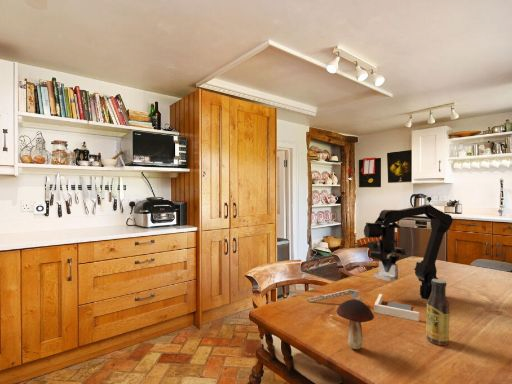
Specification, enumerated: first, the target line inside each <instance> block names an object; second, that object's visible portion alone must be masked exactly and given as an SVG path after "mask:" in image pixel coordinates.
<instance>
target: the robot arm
mask: <svg viewBox="0 0 512 384" xmlns="http://www.w3.org/2000/svg"><path fill="white" fill-rule="evenodd" d="M421 215H422V216H423V215H425V216H426V218H427V219H429V220H430V228H431V232H430V236H429V239H428V242H427V245H426V249H425V252H424V255H423V259H422V260H421V261H420V262H419V261H416V263H415V267H414V269H413V270H414V275H415V276H416V277H417V279H418V281H419V282H421V285H419V295H420V298H421V299H426V300H428V299H429V297H430V295H431V292H432V284H431V281H432V279H439V278H438V277H437V273H438V272H437V266H436V262H437V259H438V255H439V252H440V248H441V245H442V242H443V239H444V235H445V234H446V232H448V231H449V230H450V229H451V226H452V224H453V221H454V219H453V217H452V215H450V214H449V213H445V212H443V210H440V209H437V208H436V207H435V206H433V205H431V204H422V205H417V206H411V207H407V208H406V207H405V208H402V209H384V210H381V211H380V213H379V216H378V217H377V219H376V220H375V221H374V222H366V223H365V226H364V229H363V235H364V237H365V238H367V239H368V238H371V239H372V238H373V239H375V238H376V239H378V238H380V239H379V240H378V242H374V241H369V242H368V244H367V246H368V247H367V248H368V249H369V250H371V251H370V252H369V253H370V254H369V255H370V258H373V259H378V260H379V261H382V264H383V266H384V269H385V272H388V271H389V268H390V264H391V263H393V264H396V263H397V262H398V259H400V258H401V256H406V254H407V253H406V252H407V251H406V250H405V248H402V247H397V246H396V243H397V244H398V240H397V239H396V229H400V228H401V226H400V225H399V224H398V223H397V222H399V221H401V220H403V219H406V218H411V217H417V216H421ZM397 254H400V255H401V256H399V255H397Z"/></svg>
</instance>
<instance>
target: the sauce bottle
mask: <svg viewBox="0 0 512 384" xmlns="http://www.w3.org/2000/svg"><path fill="white" fill-rule="evenodd" d="M431 284H432V292H431V295H430V297H429V299H427V303H426V320H425V321H426V322H425V328H426V329H425V334H426V336H425V337H426V339H427V341H429V342H430V343H432V344H434V345H436V346H446V345H448V344H449V340H450V302H449V300H448V298H447V296H446V295H447V293H446V287H447V281H446V280H444V279H440V278H438V279H432V281H431Z"/></svg>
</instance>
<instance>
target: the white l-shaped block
mask: <svg viewBox="0 0 512 384" xmlns="http://www.w3.org/2000/svg"><path fill="white" fill-rule="evenodd" d="M382 303H383V294H382V293H379V294H378V296H377V298H376V299H375V302H374V305H373V306H374V307H373V312H374V313H376V314H381V315H385V316H391V317H396V318H400V319H405V320H410V321H414V322H420V312H419V311H414V310H411V311H410V310H405V309H399V308H394V307H389V306H387V305H383V304H382Z"/></svg>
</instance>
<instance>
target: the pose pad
mask: <svg viewBox="0 0 512 384" xmlns="http://www.w3.org/2000/svg"><path fill="white" fill-rule="evenodd" d="M386 306H389V307H394V308H399V309H405V310H410V311H412V305H409V304H403V303H398V302H394V301H393V302H392V301H388V302H387V304H386Z"/></svg>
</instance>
